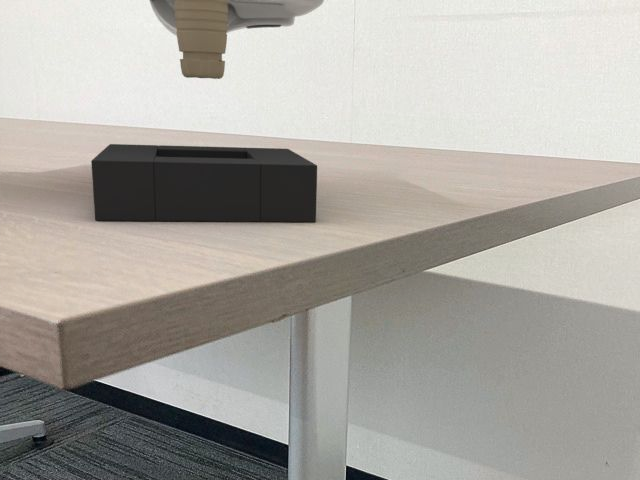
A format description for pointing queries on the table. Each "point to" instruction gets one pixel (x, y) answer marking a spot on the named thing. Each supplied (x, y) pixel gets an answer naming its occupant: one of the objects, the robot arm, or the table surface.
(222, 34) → the handle
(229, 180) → the black slotted base
